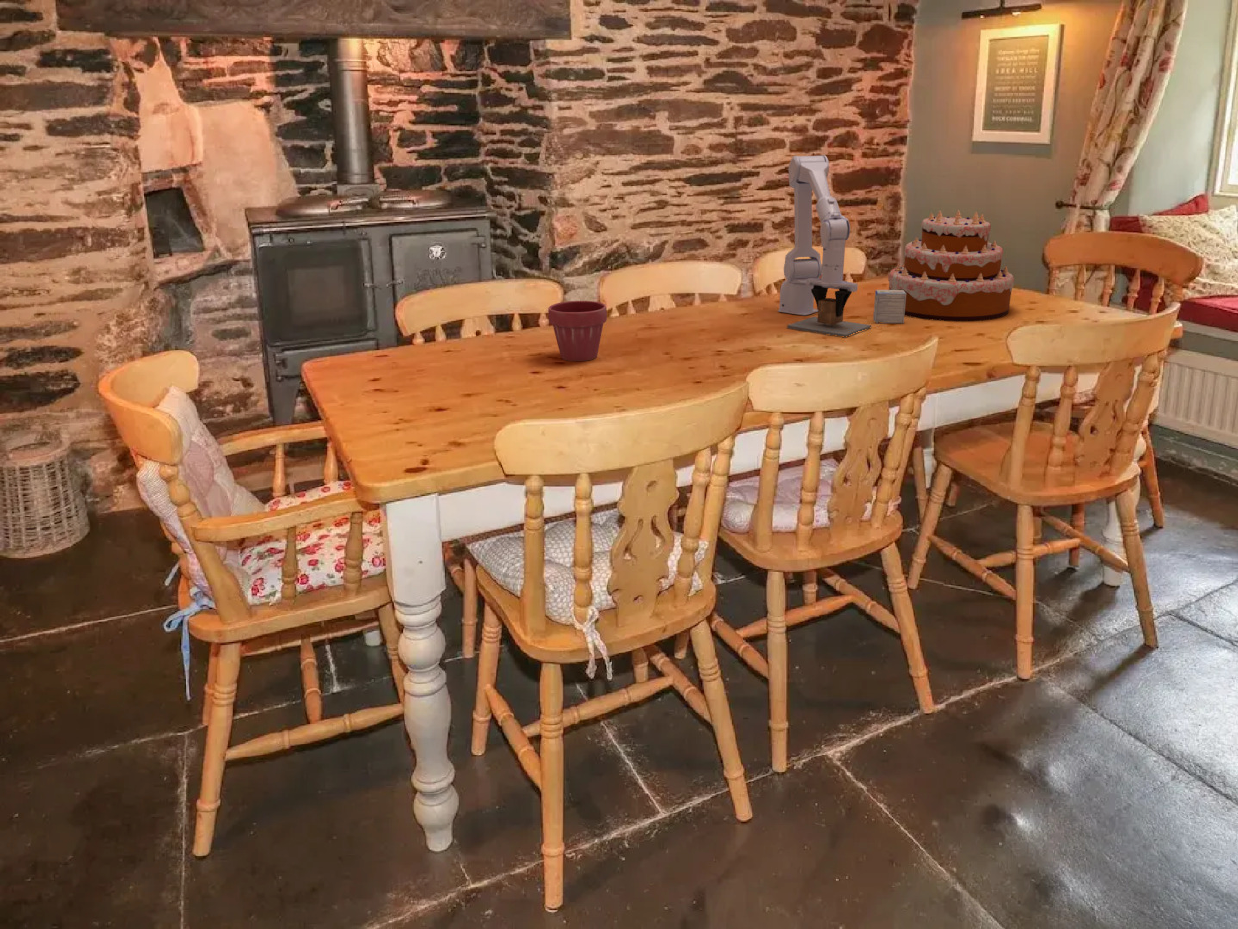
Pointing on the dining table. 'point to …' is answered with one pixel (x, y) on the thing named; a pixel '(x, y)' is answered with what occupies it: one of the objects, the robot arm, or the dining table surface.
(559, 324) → the plant pot
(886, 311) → the medicine box
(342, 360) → the dining table surface
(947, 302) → the cake
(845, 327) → the pin board
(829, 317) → the walnut collar
